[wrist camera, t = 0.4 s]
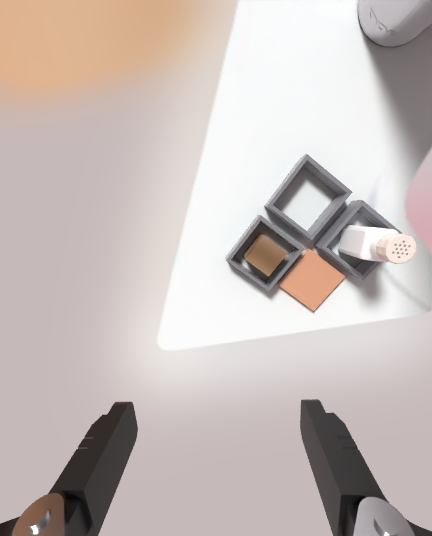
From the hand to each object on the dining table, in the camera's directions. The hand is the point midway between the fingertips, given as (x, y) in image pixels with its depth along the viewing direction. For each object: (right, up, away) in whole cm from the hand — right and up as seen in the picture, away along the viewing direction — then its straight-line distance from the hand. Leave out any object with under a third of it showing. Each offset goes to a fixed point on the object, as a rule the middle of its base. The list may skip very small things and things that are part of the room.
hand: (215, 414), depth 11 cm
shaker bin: (+20, +11, +23) cm, 32 cm away
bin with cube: (+7, +9, +24) cm, 26 cm away
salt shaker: (+20, +11, +23) cm, 32 cm away
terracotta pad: (+15, +5, +24) cm, 29 cm away
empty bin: (+12, +17, +22) cm, 30 cm away
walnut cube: (+7, +9, +24) cm, 26 cm away
